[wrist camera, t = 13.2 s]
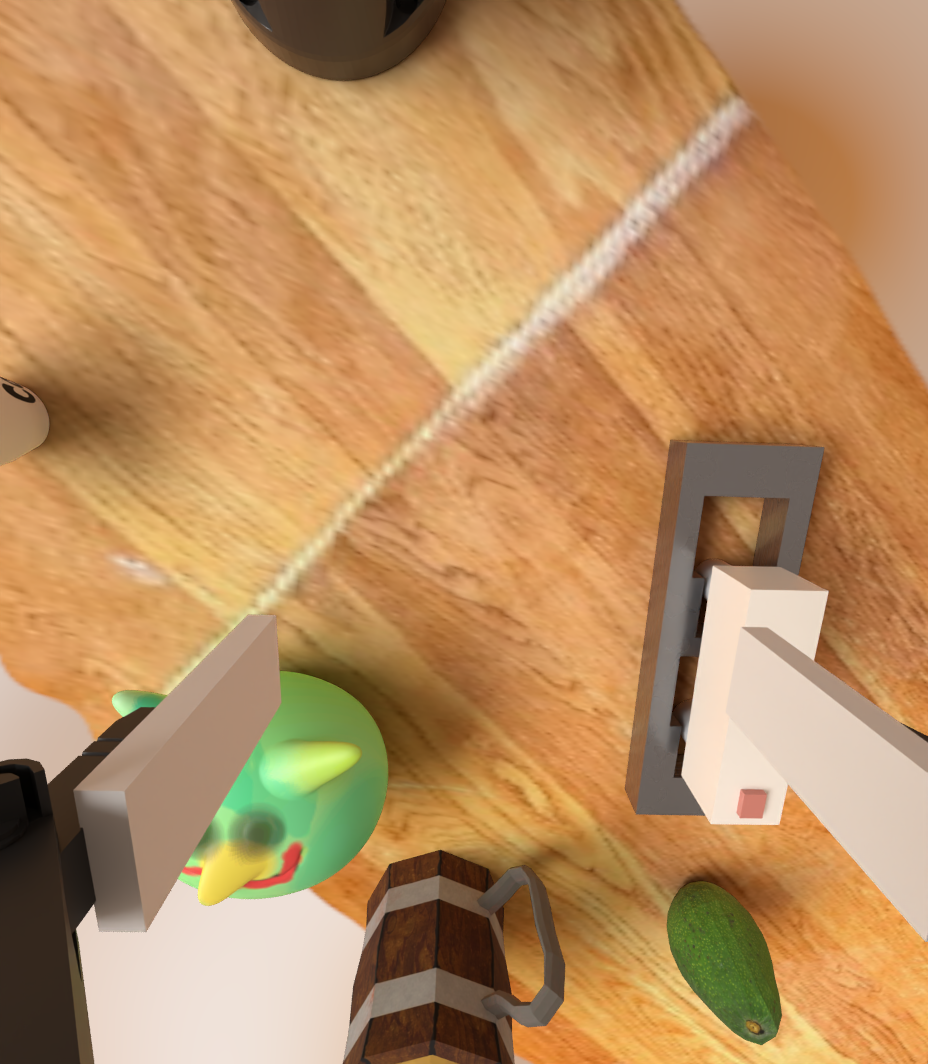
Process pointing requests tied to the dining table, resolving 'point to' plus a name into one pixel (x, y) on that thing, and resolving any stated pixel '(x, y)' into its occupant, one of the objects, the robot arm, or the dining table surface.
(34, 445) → the cup
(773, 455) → the keyhole plate
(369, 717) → the toy bird
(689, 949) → the fruit
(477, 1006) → the mug
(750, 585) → the cream block with pegs
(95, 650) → the dining table surface
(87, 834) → the robot arm
